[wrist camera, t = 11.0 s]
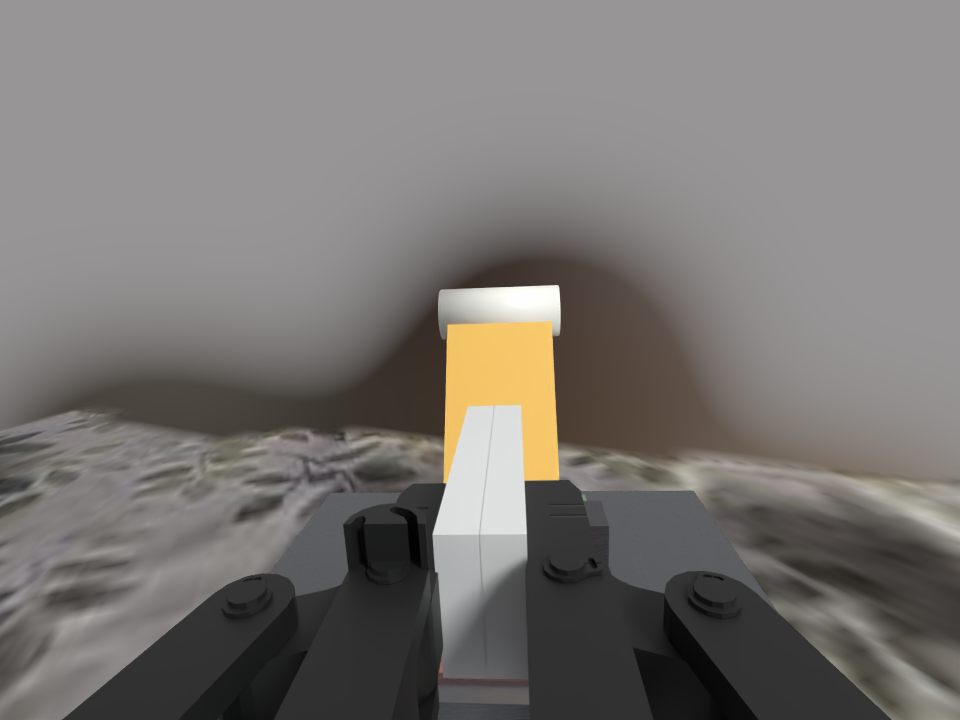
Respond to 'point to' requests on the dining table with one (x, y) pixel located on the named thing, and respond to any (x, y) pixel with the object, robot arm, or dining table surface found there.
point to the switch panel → (631, 560)
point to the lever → (503, 365)
